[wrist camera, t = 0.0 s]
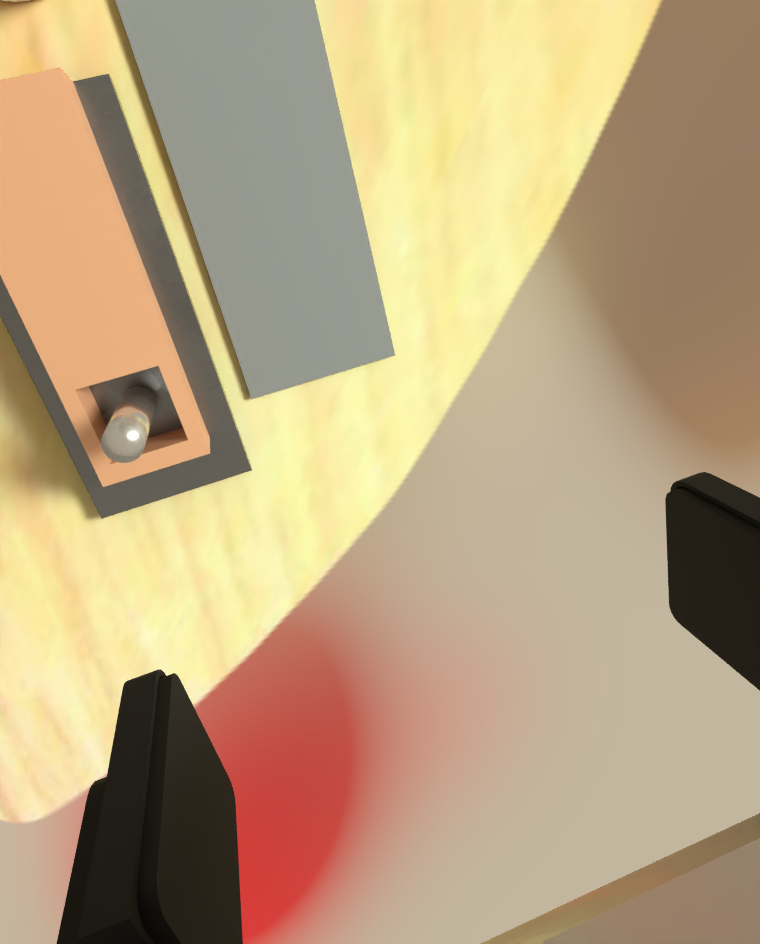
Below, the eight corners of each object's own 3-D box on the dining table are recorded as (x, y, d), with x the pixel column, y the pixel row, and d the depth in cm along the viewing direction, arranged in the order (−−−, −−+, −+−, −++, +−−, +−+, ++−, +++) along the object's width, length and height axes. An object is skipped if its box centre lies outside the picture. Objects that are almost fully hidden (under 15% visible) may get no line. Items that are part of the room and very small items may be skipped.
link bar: (-59, 110, 30) (-86, 98, 27) (73, 81, 31) (60, 67, 28) (110, 468, 38) (103, 487, 35) (209, 438, 39) (210, 453, 36)
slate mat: (112, -9, 31) (111, -12, 30) (302, -46, 32) (303, -49, 32) (250, 397, 40) (251, 398, 39) (393, 354, 41) (394, 355, 41)
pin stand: (-89, 122, 30) (-196, 82, 22) (111, 78, 32) (79, 26, 24) (103, 512, 40) (78, 583, 32) (250, 464, 41) (261, 522, 33)
